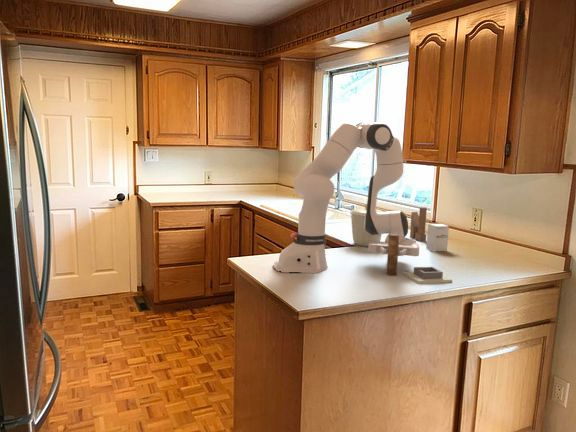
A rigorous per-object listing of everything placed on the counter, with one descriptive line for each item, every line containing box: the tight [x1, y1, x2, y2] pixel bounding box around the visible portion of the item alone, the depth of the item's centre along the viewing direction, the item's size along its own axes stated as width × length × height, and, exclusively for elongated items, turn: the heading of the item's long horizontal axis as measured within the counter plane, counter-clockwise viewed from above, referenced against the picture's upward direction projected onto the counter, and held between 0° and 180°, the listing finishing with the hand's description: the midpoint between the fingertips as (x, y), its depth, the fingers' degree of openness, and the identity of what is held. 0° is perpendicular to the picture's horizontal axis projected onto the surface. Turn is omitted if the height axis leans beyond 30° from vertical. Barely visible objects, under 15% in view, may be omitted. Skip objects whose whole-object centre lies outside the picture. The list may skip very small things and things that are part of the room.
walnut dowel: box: [386, 234, 399, 277], centre depth 193 cm, size 4×4×16 cm
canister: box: [349, 203, 384, 247], centre depth 247 cm, size 18×18×21 cm
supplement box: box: [426, 223, 450, 252], centre depth 239 cm, size 7×7×13 cm
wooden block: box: [409, 206, 428, 242], centre depth 263 cm, size 4×11×18 cm, turn 16°
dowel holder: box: [404, 266, 453, 285], centre depth 190 cm, size 14×12×4 cm
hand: (392, 252), depth 192 cm, fingers open, 5 cm apart
